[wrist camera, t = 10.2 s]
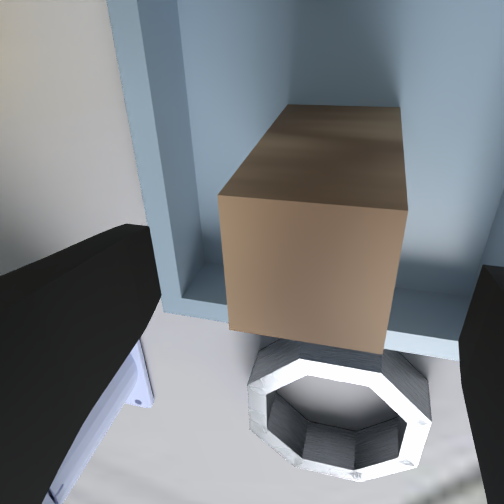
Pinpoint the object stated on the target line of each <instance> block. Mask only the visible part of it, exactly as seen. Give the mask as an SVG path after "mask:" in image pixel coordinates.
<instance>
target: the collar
mask: <svg viewBox="0 0 504 504" xmlns="http://www.w3.org/2000/svg"><path fill="white" fill-rule="evenodd" d="M306 375H311V376H316V377H321V378H327V379H332V380H337V381H343V382H348V383H353V384H359V385H364V386H369V387H370V388H371V389H372V390H373V391H374V392H375V393H376V394H378V395H379V396H380V397H381V398H382V399H383V400H384V401H385V402H386V403H387V404H388V405H389V406H390V407H391V408H392V409H393V410H394V411H395V412H396V413H398V417H397V418H394V419H391V420H388V421H385V422H383V423H380V424H377V425H374V426H371V427H368V428H365V429H363V430H360V431H357V432H356V431H352V430H347V429H342V428H337V427H333V426H328V425H323V424H319V423H314V422H309V421H308V420H307V419H305V418H304V417H303V416H302V415H301V414H300V413H299V412H297V411H296V410H295V409H294V408H293V407H292V406H291V405H289V404H288V403H287V402H286V401H285V400H284V399H283V398H282V397H280V396H279V395H278V394H277V393H276V390H277V389H279V388H281V387H283V386H285V385H287V384H289V383H291V382H293V381H295V380H297V379H300V378H302V377H304V376H306ZM247 387H248V407H249V427H250V428H249V429H250V430H251V431H252V432H253V433H254V434H256V435H257V436H258V437H259V438H260V439H262V440H263V441H264V442H265V443H266V444H268V445H269V446H270V447H271V448H272V449H274V450H275V451H276V452H277V453H278V454H280V455H281V456H282V457H283V458H284V459H286V460H287V461H288V462H289V463H290V464H292V465H293V466H294V467H297V468H301V469H306V470H310V471H314V472H318V473H322V474H326V475H331V476H335V477H339V478H343V479H347V480H351V481H356V482H363V481H367V480H370V479H374V478H378V477H382V476H385V475H389V474H393V473H397V472H400V471H404V470H408V469H412V468H415V467H418V463H419V460H420V457H421V453H422V450H423V447H424V444H425V441H426V438H427V435H428V432H429V429H430V425H431V423H432V417H431V407H430V396H429V385H428V381H427V380H426V379H425V378H424V377H423V376H422V375H421V374H420V373H419V372H418V371H417V370H416V369H415V368H414V367H413V366H412V365H411V364H410V363H409V362H408V361H407V360H406V359H405V358H404V357H403V356H402V355H401V354H400V353H399V352H398V351H395V350H389V349H384V350H383V355H382V354H376V353H370V352H364V351H358V350H351V349H345V348H339V347H333V346H327V345H320V344H314V343H308V342H302V341H296V340H290V339H283V338H281V339H279V340H278V341H276V342H274V343H272V344H271V345H269V346H267V347H265V348H264V349H262V350H259V352H258V355H257V358H256V361H255V364H254V367H253V370H252V373H251V375H250V378H249V381H248V384H247Z"/></svg>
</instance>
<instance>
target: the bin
mask: <svg viewBox="0 0 504 504" xmlns="http://www.w3.org/2000/svg"><path fill="white" fill-rule="evenodd" d="M107 6H108V11H109V17H110V22H111V28H112V33H113V39H114V44H115V50H116V55H117V61H118V66H119V71H120V77H121V82H122V88H123V93H124V99H125V104H126V110H127V115H128V121H129V126H130V131H131V137H132V142H133V148H134V153H135V159H136V164H137V170H138V175H139V181H140V186H141V191H142V197H143V202H144V208H145V213H146V219H147V224H148V226H149V227H150V233H151V238H152V244H153V249H154V255H155V260H156V266H157V272H158V277H159V283H160V288H161V294H162V295H161V301H162V306H163V311H164V312H166V313H172V314H178V315H184V316H190V317H196V318H202V319H208V320H214V321H220V322H226V323H229V319H228V308H227V297H226V286H225V275H224V264H223V253H222V241H221V230H220V219H219V208H218V197H217V195H218V194H219V192H220V191H221V190H222V188H223V187H224V186H225V184H226V183H227V182H228V181H229V179H230V178H231V177H232V175H233V174H234V173H235V172H236V170H237V169H238V168H239V166H240V165H241V164H242V163H243V161H244V160H245V159H246V157H247V156H248V155H249V153H250V152H251V151H252V150H253V148H254V147H255V146H256V144H257V143H258V142H259V141H260V139H261V138H262V137H263V135H264V134H265V133H266V131H267V130H268V129H269V128H270V126H271V125H272V124H273V122H274V121H275V120H276V119H277V117H278V116H279V115H280V113H281V112H282V111H283V110H284V108H285V107H286V106H287V104H298V105H335V106H372V107H400V109H401V122H402V135H403V148H404V161H405V174H406V187H407V200H408V215H407V221H406V227H405V232H404V238H403V243H402V249H401V255H400V260H399V266H398V271H397V277H396V283H395V288H394V294H393V299H392V305H391V311H390V316H389V322H388V327H387V333H386V339H385V344H384V349H389V350H395V351H401V352H407V353H413V354H419V355H425V356H431V357H437V358H443V359H449V360H455V361H459V346H458V340H459V337H460V333H461V330H462V327H463V324H464V321H465V318H466V315H467V312H468V309H469V305H470V302H471V299H472V296H473V293H474V290H475V287H476V284H477V281H478V277H479V274H480V271H481V268H482V265H483V264H484V265H492V266H501V267H504V0H107Z"/></svg>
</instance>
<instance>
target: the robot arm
mask: <svg viewBox="0 0 504 504" xmlns="http://www.w3.org/2000/svg"><path fill="white" fill-rule="evenodd" d="M161 295H162V294H161V288H160V283H159V277H158V272H157V266H156V260H155V255H154V249H153V244H152V238H151V233H150V227H149V226H142V225H133V224H124V225H121V226H117V227H115V228H112V229H109V230H107V231H104V232H102V233H100V234H97V235H95V236H93V237H90V238H88V239H86V240H84V241H81V242H79V243H77V244H75V245H72V246H70V247H68V248H66V249H63V250H61V251H59V252H57V253H54V254H52V255H50V256H48V257H45V258H43V259H41V260H39V261H36V262H34V263H31V264H29V265H26V266H24V267H21V268H19V269H17V270H14V271H12V272H9V273H7V274H4V275H2V276H0V504H63V503H64V501H65V499H66V498H67V496H68V494H69V493H70V491H71V490H72V488H73V486H74V485H75V483H76V481H77V480H78V478H79V477H80V475H81V473H82V472H83V470H84V468H85V467H86V465H87V464H88V462H89V460H90V459H91V457H92V455H93V454H94V452H95V451H96V449H97V447H98V446H99V444H100V442H101V441H102V439H103V438H104V436H105V434H106V433H107V431H108V429H109V428H110V426H111V425H112V423H113V421H114V420H115V418H116V416H117V415H118V413H119V412H120V410H121V408H122V407H123V405H124V403H127V404H131V405H136V406H140V407H145V408H150V407H152V405H153V403H154V399H153V395H152V391H151V386H150V382H149V378H148V374H147V369H146V365H145V361H144V356H143V352H142V348H141V344H140V337H141V335H142V334H143V332H144V331H145V329H146V327H147V325H148V323H149V321H150V319H151V317H152V315H153V313H154V311H155V309H156V306H157V304H158V302H159V300H160V298H161ZM458 346H459V361H460V373H461V384H462V389H463V394H464V399H465V404H466V408H467V413H468V418H469V422H470V427H471V431H472V436H473V440H474V444H475V449H476V453H477V458H478V462H479V467H480V471H481V476H482V480H483V484H484V489H485V493H486V498H487V504H504V267H501V266H492V265H484V264H483V265H482V268H481V271H480V274H479V277H478V281H477V284H476V287H475V290H474V293H473V296H472V299H471V302H470V305H469V309H468V312H467V315H466V318H465V321H464V324H463V327H462V330H461V333H460V337H459V340H458Z"/></svg>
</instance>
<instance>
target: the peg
mask: <svg viewBox="0 0 504 504" xmlns="http://www.w3.org/2000/svg"><path fill="white" fill-rule="evenodd" d="M217 197H218V208H219V219H220V230H221V241H222V253H223V264H224V275H225V286H226V297H227V308H228V319H229V330H234V331H240V332H246V333H252V334H259V335H265V336H271V337H277V338H283V339H290V340H296V341H302V342H308V343H314V344H320V345H327V346H333V347H339V348H345V349H351V350H358V351H364V352H370V353H376V354H382V355H383V350H384V344H385V339H386V333H387V327H388V322H389V316H390V311H391V305H392V299H393V294H394V288H395V283H396V277H397V271H398V266H399V260H400V255H401V249H402V243H403V238H404V232H405V227H406V221H407V215H408V200H407V187H406V174H405V161H404V148H403V135H402V122H401V109H400V107H372V106H335V105H298V104H287V106H286V107H285V108H284V110H283V111H282V112H281V113H280V115H279V116H278V117H277V119H276V120H275V121H274V122H273V124H272V125H271V126H270V128H269V129H268V130H267V131H266V133H265V134H264V135H263V137H262V138H261V139H260V141H259V142H258V143H257V144H256V146H255V147H254V148H253V150H252V151H251V152H250V153H249V155H248V156H247V157H246V159H245V160H244V161H243V163H242V164H241V165H240V166H239V168H238V169H237V170H236V172H235V173H234V174H233V175H232V177H231V178H230V179H229V181H228V182H227V183H226V184H225V186H224V187H223V188H222V190H221V191H220V192H219V194H218V195H217Z"/></svg>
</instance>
